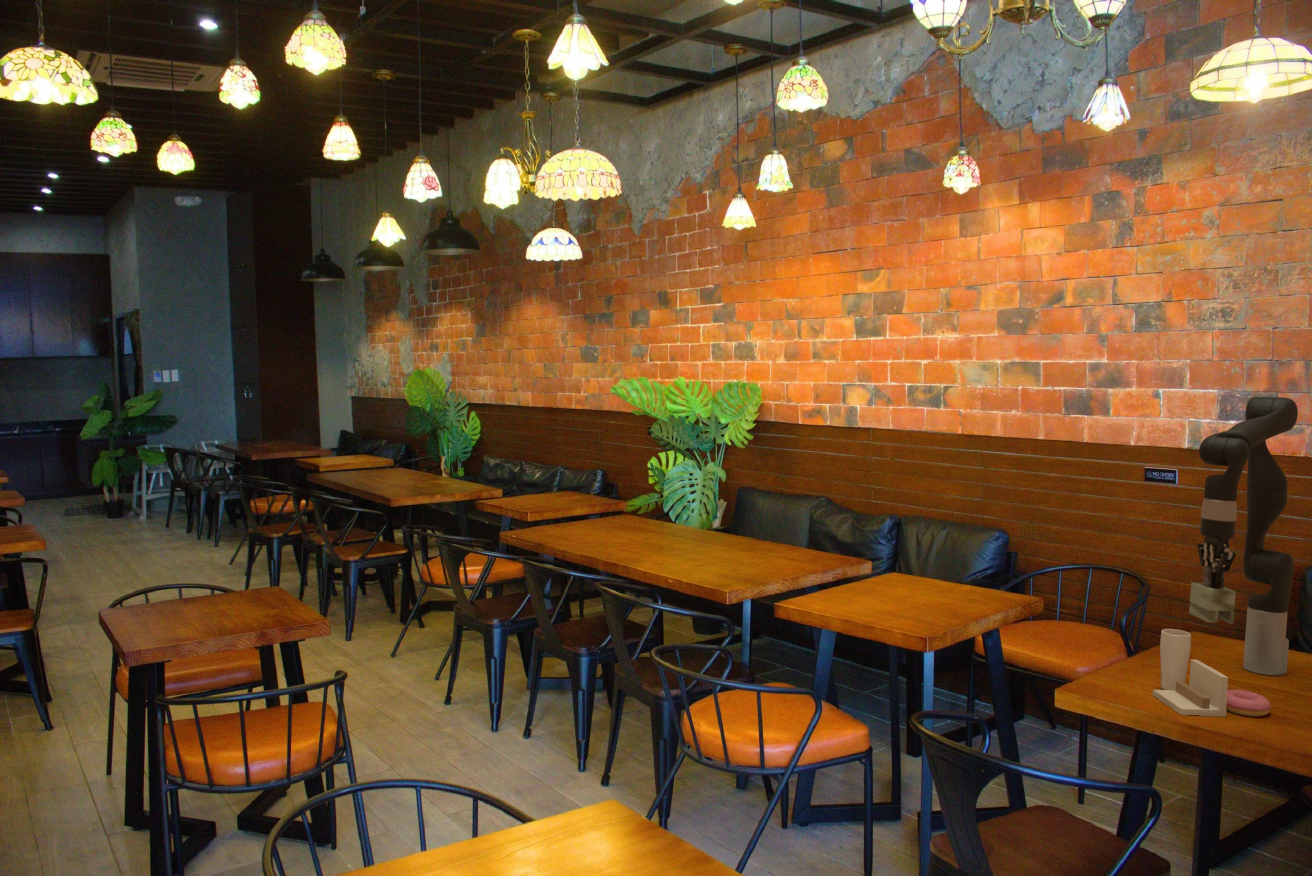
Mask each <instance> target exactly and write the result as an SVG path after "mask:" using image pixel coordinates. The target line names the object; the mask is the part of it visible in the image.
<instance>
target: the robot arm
mask: <svg viewBox="0 0 1312 876" xmlns="http://www.w3.org/2000/svg"><path fill="white" fill-rule="evenodd" d="M1245 407H1246V408H1245V420H1242V421H1241V422H1238V423H1236V424H1235V425H1233V426H1231V427H1230V428H1229V429H1228V430H1224V431H1220V432H1216V433H1214V434H1211V435H1208V436H1207V437H1205V438H1204V439H1203V440H1202V442H1201V443H1200V444H1199V448H1198V456H1199V458H1200V460H1202V462H1204V463H1205V464H1207V465H1213V466H1225V467H1227V469H1226V470H1225V472H1224V473H1222V474H1221V473H1220V474H1211V475H1208V476H1207V477H1206V478H1205V482H1204V493H1203V494H1204V495H1203V501H1202V505H1201V515H1200V527H1199V534H1200V535H1202V536H1204V539H1203V542H1202V543H1197V544H1196V548H1197V553H1198V558H1199V562H1200V566H1201V567H1204V566H1212V577H1211V587H1213V588H1221V584H1222V574H1223V573H1224V572H1225V573H1229V571H1230V569H1231V566H1232V564H1233V562H1234V560H1235V558H1236V555H1237V554H1236V552H1235V551H1231V550H1230V547H1231V546H1230V539H1233V538H1235V536H1236V526H1237V516H1238V515H1237V513H1238V512H1237V511H1238V506H1237V497H1238V489H1239V488H1238V487H1239V483H1240V479H1241V476H1242V473H1243V470H1244V468H1245V466H1246V463H1247V474H1246V475H1247V477H1246V478H1247V479H1246V508H1247V509H1246V513H1247V514H1246V518H1247V519H1246V534H1245V543H1244V544H1245V545H1244V552H1243V564H1242V565H1243V573H1244V577H1245V578H1246V579H1247V581H1250V582H1255V583H1259V584H1265V585H1270V590H1269V591H1268V592H1266V593H1260V594H1253V595H1250V596H1248V600H1247V609H1246V623H1245V624H1246V626H1245V635H1244V636H1245V637H1244V638H1245V639H1244V650H1243V651H1244V652H1243V663H1242V664H1243V666H1242V667H1243V669H1244V670H1247V671H1248V672H1252V673H1255V674H1259V675H1265V676H1281V675H1287V671H1288V658H1289V646H1290V645H1289V644H1290V640H1289V639H1288V638H1286V637H1287V636H1286V635H1287V625H1288V624H1287V620H1288V610H1289V609H1288V608H1289V602H1290V600H1291V590H1292V583H1293V575H1294V569H1295V568H1294V560H1293V557H1292V556H1291V554H1289V553H1286V552H1282V551H1276V550H1270V549H1265V547H1264V546H1265V545H1264V544H1265V539H1266V535H1267V532H1268V531H1269V529H1270V527H1271V526H1272V525H1273V524H1274V523H1275V522H1276V521H1277V519H1278V518H1279V517H1280V516H1281V514H1282V513H1283V511H1284V510H1285V508H1286V506H1287V503H1288V479H1287V476H1286V474H1285V472H1284V471H1283V469H1282V468H1281V466H1280V465H1279V464H1278V462H1277V461H1276V460H1275V458H1274V457H1273V455H1272V454H1271V452H1270V450H1269V448H1268V445H1267V441H1266V440H1269V439H1271V438H1273V437H1276V436H1278V435H1282V434H1284V433H1286V432H1289V431H1291V430H1292V429H1293V428H1294V426H1296V423H1297V422H1298V421H1297V420H1298V416H1299V414H1298V413H1299V411H1298V410H1299V409H1298V405H1297V402H1296V401H1294V400H1293V399H1292V398H1289V397H1283V396H1282V397H1281V396H1278V397H1277V396H1275V397H1274V396H1252V397H1250V398H1249V400H1248V401H1247V404H1246V406H1245Z"/></svg>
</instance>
